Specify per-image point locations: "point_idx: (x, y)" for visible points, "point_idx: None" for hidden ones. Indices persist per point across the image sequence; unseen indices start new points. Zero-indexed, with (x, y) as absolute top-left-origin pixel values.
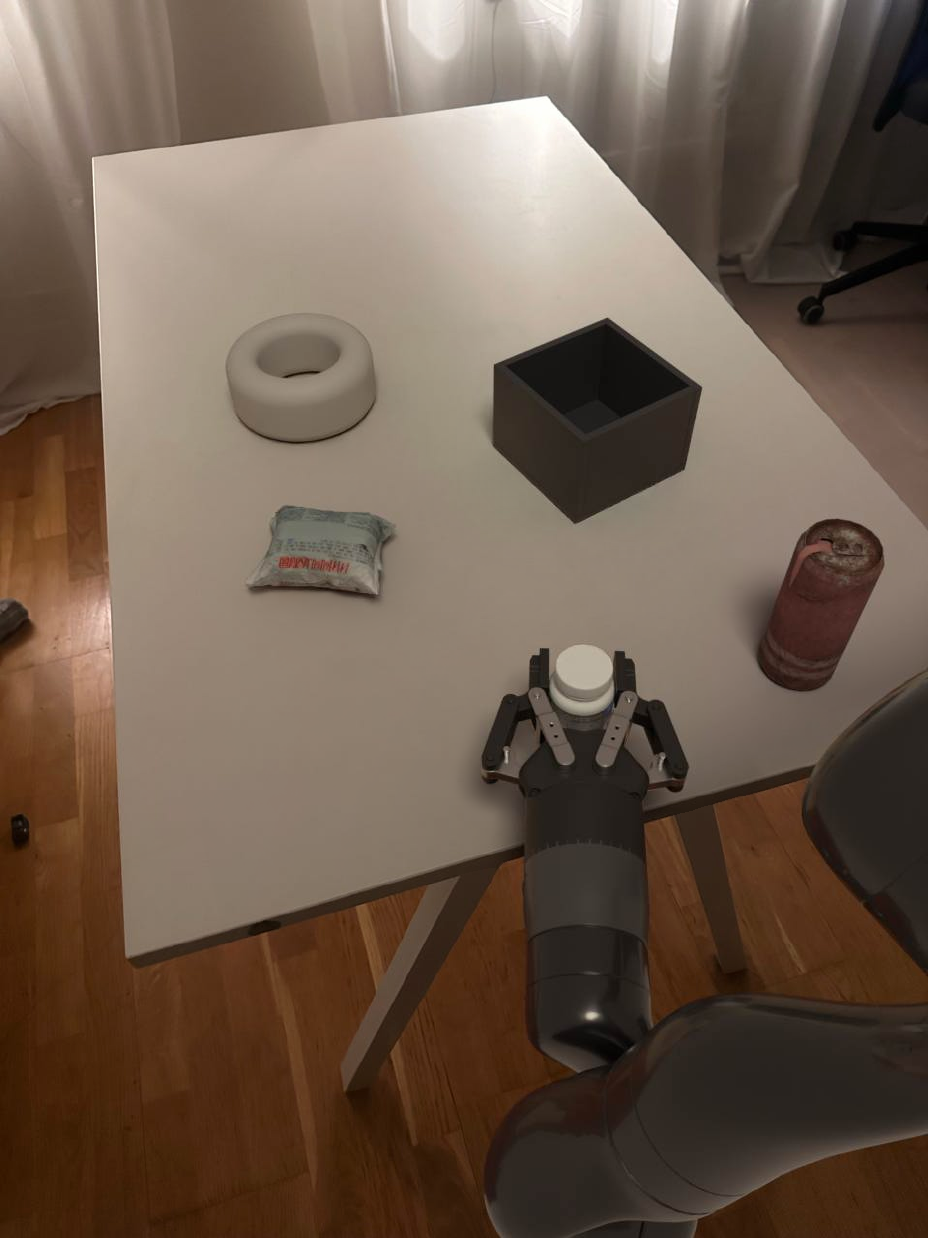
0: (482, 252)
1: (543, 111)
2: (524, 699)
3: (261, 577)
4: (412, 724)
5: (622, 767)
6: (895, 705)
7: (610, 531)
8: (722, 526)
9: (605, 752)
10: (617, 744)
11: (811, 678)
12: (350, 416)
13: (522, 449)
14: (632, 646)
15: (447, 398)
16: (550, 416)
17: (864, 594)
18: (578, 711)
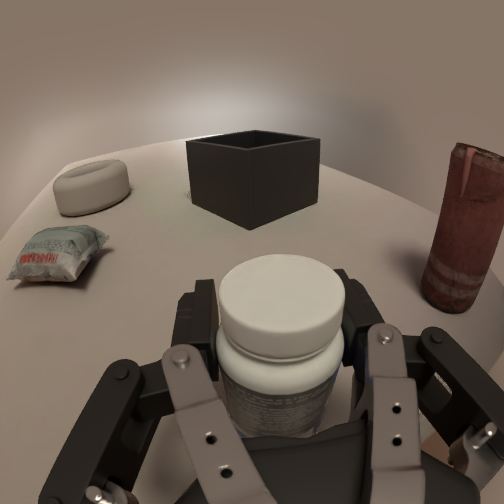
0: None
1: None
2: (157, 371)
3: (11, 271)
4: (80, 401)
5: (429, 500)
6: None
7: (277, 232)
8: (353, 224)
9: (393, 492)
10: (413, 453)
11: (472, 296)
12: (108, 197)
13: (207, 191)
14: None
15: (168, 190)
16: (221, 148)
17: None
18: (282, 387)
